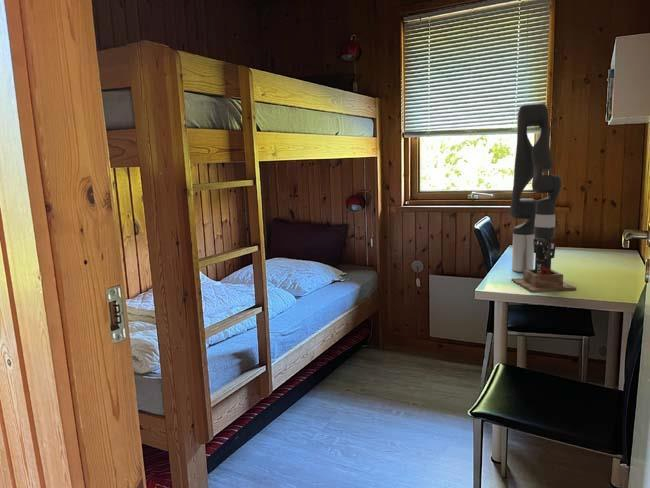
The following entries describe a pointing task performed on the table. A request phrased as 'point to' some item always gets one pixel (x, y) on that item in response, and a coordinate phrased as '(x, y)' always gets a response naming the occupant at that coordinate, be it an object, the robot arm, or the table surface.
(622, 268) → the table surface
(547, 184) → the robot arm
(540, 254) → the deodorant
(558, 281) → the well holder
